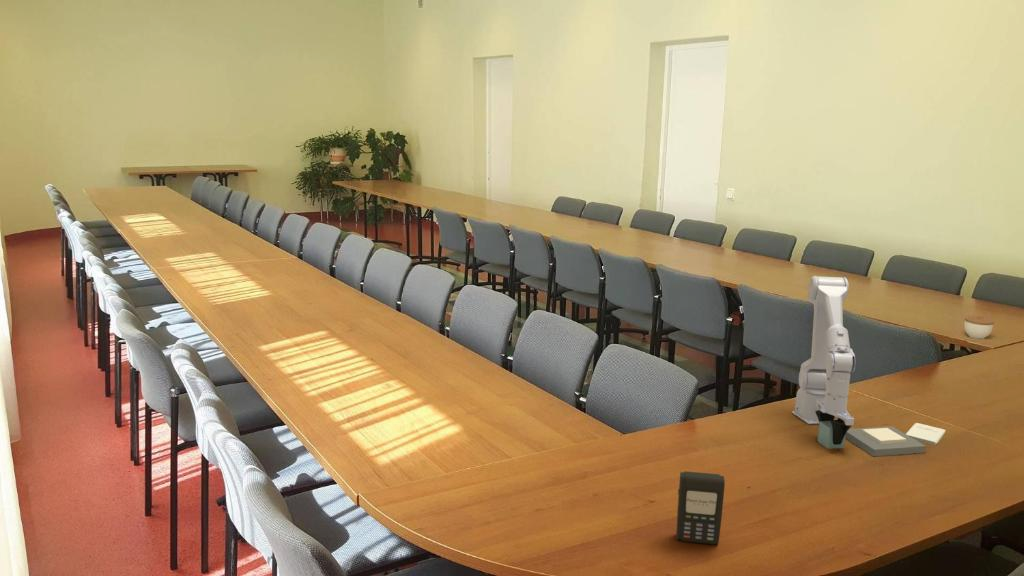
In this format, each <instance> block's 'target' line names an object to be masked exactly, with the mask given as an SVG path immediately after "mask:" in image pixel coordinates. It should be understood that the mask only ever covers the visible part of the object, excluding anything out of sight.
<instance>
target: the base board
mask: <svg viewBox="0 0 1024 576" xmlns="http://www.w3.org/2000/svg"><path fill="white" fill-rule="evenodd" d="M847 439H848V441H849V442H850V443H852V444H854V445H855V446H856V447H858V448H860V449H861V450H862V451H864V452H866V453H868V454H869V455H870V454H871V457H873V456H875V457H887V456H900V455H901V454H903V455H912V454H913V453H916V454H925V453H926V450H927V445H925V444H924V443H923V442H919V441H917V440H915V439H913V438H911V437H910V436H908V435H906V433H904V432H903V431H901V430H899V429H898V428H896V427H894V426H893V425H891V426H875V427H863V428H862V427H861V428H859V427H858V428H849V430H848V431H847V432H846V436H845V440H847ZM913 455H914V454H913Z"/></svg>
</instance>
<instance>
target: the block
mask: <svg viewBox="0 0 1024 576" xmlns="http://www.w3.org/2000/svg"><path fill="white" fill-rule="evenodd" d="M845 436H846V434H845ZM845 436H844V438H843V441H842V443H841V444H838V445H834V444H833V428H832V424H831V421H821V422H820V423H819V425H818V432H817V440H816V441H818V442H817V443H819V444H820V445H821V446H823V448H825V449H827V450H829V449H830V450H832V449H833V448H834V449H844V448H845V442H846V438H845Z"/></svg>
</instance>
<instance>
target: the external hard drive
mask: <svg viewBox="0 0 1024 576" xmlns="http://www.w3.org/2000/svg"><path fill="white" fill-rule="evenodd" d="M905 434H906V435H908V436H910V437H911V438H913V439H915V440H917V441H918V442H919V441H921V442H920V443H923V442H925V443H924V444H927V443H928V444H929V445H931V444H933V445H932V446H935V445H936V444H937V443H938V444H939V442H940V441H941V440H942V438H943V437H944V435H945V434H946V429H944V428H939V427H935V426H932V425H927V424H923V423H920V422H919V423H918V422H915V423H914V424H913V425H912V426H911V427H910V428H909V430H908V431H907V432H906V433H905ZM938 444H937V445H938ZM937 445H936V446H937Z"/></svg>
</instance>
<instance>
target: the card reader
mask: <svg viewBox="0 0 1024 576" xmlns="http://www.w3.org/2000/svg"><path fill="white" fill-rule="evenodd" d="M679 474H680V475H679V485H678V490H677V495H678V499H677V509H676V510H677V512H676V513H677V515H676V540H680V542H687V543H697V544H699V543H700V544H709V545H715V544H719V542H720V537H721V536H720V534H721V528H722V527H721V525H722V520H723V519H722V518H723V517H722V516H723V506H724V496H725V487H726V485H725V483H726V481H725V476H724V475H720V474H719V473H707V472H695V471H680V473H679Z"/></svg>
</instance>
